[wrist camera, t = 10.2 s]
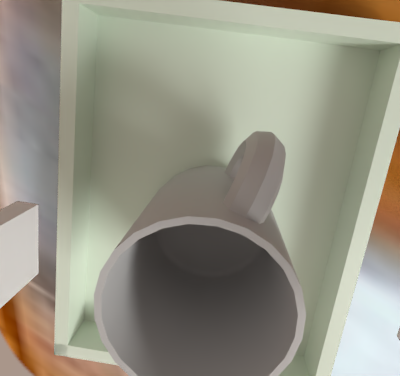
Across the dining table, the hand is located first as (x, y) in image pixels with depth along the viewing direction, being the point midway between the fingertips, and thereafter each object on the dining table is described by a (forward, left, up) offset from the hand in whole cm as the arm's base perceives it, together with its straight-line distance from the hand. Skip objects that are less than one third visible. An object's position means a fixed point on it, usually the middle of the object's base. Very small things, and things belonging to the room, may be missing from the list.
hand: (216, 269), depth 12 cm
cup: (0, 0, -8) cm, 8 cm away
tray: (0, 0, -9) cm, 9 cm away
